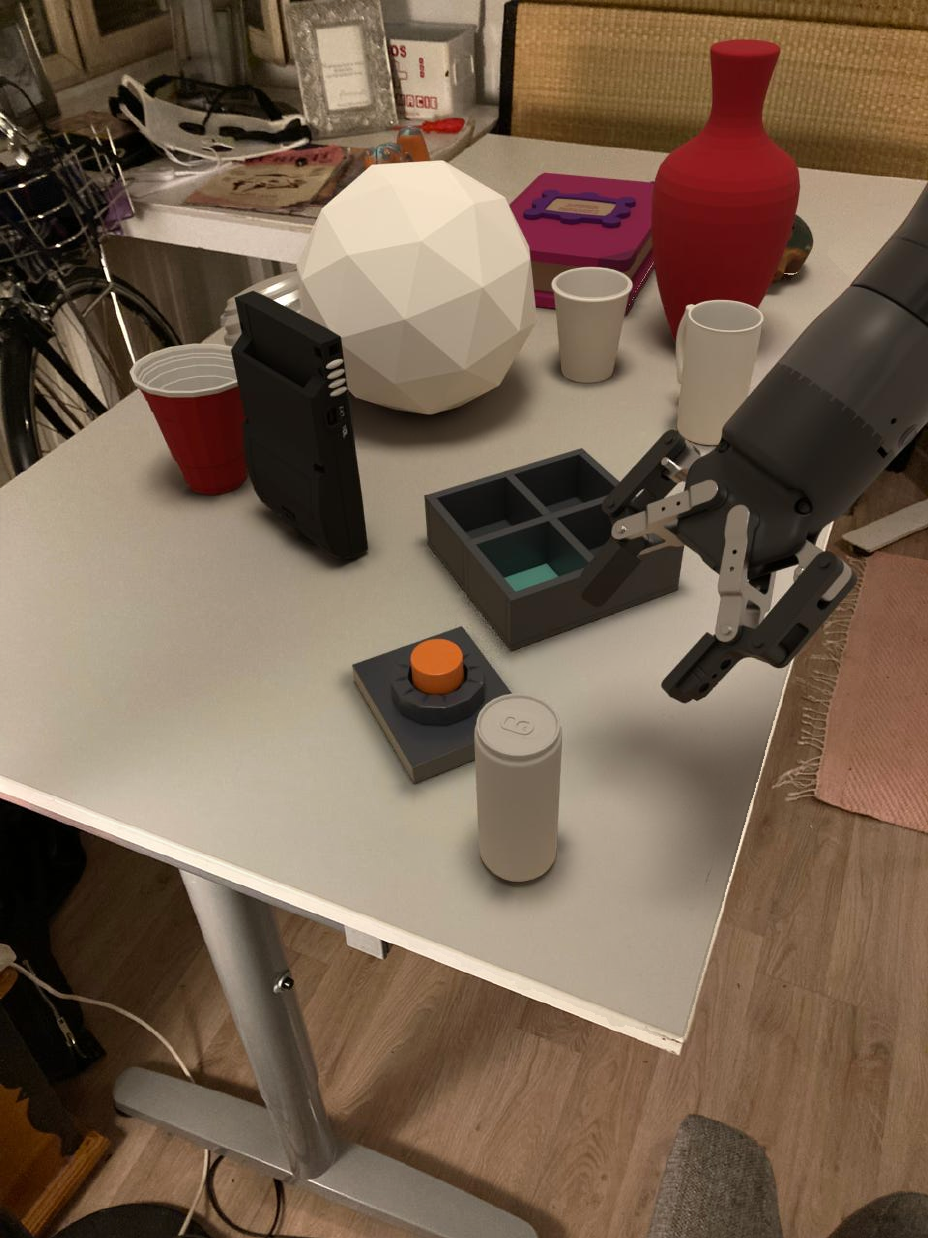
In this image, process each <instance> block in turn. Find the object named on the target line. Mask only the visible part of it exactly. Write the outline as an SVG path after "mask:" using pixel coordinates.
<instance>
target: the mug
mask: <svg viewBox="0 0 928 1238" xmlns="http://www.w3.org/2000/svg"><path fill="white" fill-rule="evenodd" d="M763 322H764V315H763V313H762V312H761V310H759V308H758V309H757V308H755V307H753V306H751V305H748V304H745V303H742V302H737V301H730V300H712V301H706V302H702V303H699V304H697V305H693V304H691V305H687V306H686V311H685V313H684V315H683V318H682V320H681V322H680V325H679V328H678V332H677V338H676V343H675V364H676V365H675V366H676V379H677V383H678V384H679V385H680V390H679V399H678V410H677V420H676V421H677V422H676V428H677V432H679V433H680V434H681V435H682V436H683V437H684V438H685V439H687V440H688V441H689V442H692V443H696V444H699V445H705V446H717V445H718V444H719V442H720V440H721V437H722V428H723V426H724V425H725V423H726V422H727V421H728V420H729V419H730V417H731V416H732V415H733V414H734V413H735V411H736V410H737V409H738V408H739V407H740V406H741V404H742V403H743V402H744V401H745V400H746V399H747V397H748V396H749V395H750V390H751V389H750V388H751V384H752V378H753V373H754V368H755V364H756V359H757V356H758V355H757V354H758V350H759V346H760V345H759V344H760V339H761V334H762V327H763Z"/></svg>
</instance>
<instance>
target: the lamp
mask: <svg viewBox="0 0 928 1238" xmlns="http://www.w3.org/2000/svg"><path fill="white" fill-rule="evenodd" d="M509 204H510V203H508V200H507V198H506V197H505V196H504V195H502V194H500V193H499V192H496V191H495V190H493V189H491V188H490V187H488V186H487V185H485V184H483V183H482V182H480V181H478V180H477V179H475V178H473V177H471V176H470V175H468V174H466V173H465V172H463V171H461V170H460V169H458V168H457V167H454V166H453V165H452V164H450V163H448V162H447V161H444V160H443V159H442V160H430V161H425V162H409V163H393V164H377V165H371V166H370V167H369V168H368V169H366V170H365V169H364V171H363V172H362V173H361V174H360V175H358V176H357V177H356V178H355V179H354V180H353V181H352V182H351V183H349V184H348V185H347V186H346V187H345V188H344V189H342V190H341V191H340V192H339V193H338V194H337V195H336V196H335V197H333V198H332V199H331V200H329V202H327V204H326V205H324V207H322V208H321V209H320V212H319V214H318V216H317V218H316V221H315V223H314V225H313V226H312V229H311V231H310V233H309V235H308V237H307V239H306V243H305V244H304V246H303V249H302V251H301V252H300V255H299V257H298V259H297V261H296V264H295V266H296V270H293V271H290V272H285V273H281V274H277V275H274V276H272V277H269V278H266V279H264V280H261V281H259V282H257V283H255V284H253V285H251V286H248V287H247V288H245V289H243V290H242V291H240V292H239V293H237V294H235V295H233V296H232V297H230V298H229V299H227V301H226V307H225V309H224V313H223V314H222V315H220V318H219V319H220V321H219V322H220V324H219V325H220V327H223V328H225V331H226V333H225V334H224V335H223V340H224V341H223V342H224V345H225V346H231V347H233V346H234V344H235V343H236V341H237V340H238V338H239V337H240V335H241V328H240V323H239V318H238V313H237V308H236V303H235V298H234V297H237V296H240V295H243V294H245V293H248V292H251V291H255V292H258V293H260V294H262V295H264V296H266V297H268V298H270V299H272V300H274V301H276V302H278V303H280V304H282V305H284V306H286V307H287V308H289V309H291V310H293V311H295V312H297V313H299V314H301V315H303V316H305V317H307V318H308V319H310V320H312V321H314V322H316V323H318V324H320V325H322V326H324V327H326V328H328V329H329V330H331V331H333V332H334V333H336V334H338V335H339V336H341V340H342V348H343V356H344V364H345V372H346V380H347V387H348V392H349V393H350V394H351V395H353V397H354V398H356V399H359V400H362V401H366V402H368V403H372V404H376V405H379V406H382V407H385V408H388V409H390V410H394V411H400V412H408V413H416V414H423V415H434V414H438V413H441V412H446V411H449V410H453V409H457V408H460V407H462V406H463V405H465V404H467V403H470V402H471V401H473V400H475V399H477V398H478V397H480V396H482V395H484V394H486V393H488V392H490V391H491V390H494V389H495V388H497V387H499V386H500V385H501V383H502V382H503V380H504V378H505V377H506V375H507V373H508V372H509V370H510V368H511V366H512V365H513V363H514V361H515V359H516V358H517V356H518V354H519V353H520V351H521V350H522V349H523V346H524V345H525V343H526V341H527V339H528V337H529V336H530V334H531V332H532V331H533V328H534V327H535V325H536V324H537V322H538V317H537V308H536V307H537V306H535V297H534V288H533V278H532V269H531V260H530V250H529V246H528V244H527V241H526V239H525V237H524V235H523V233H522V231H521V229H520V227H519V225H518V223H517V221H516V219H515V217H514V215H513V213H512V211H511V209H510V206H509Z"/></svg>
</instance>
